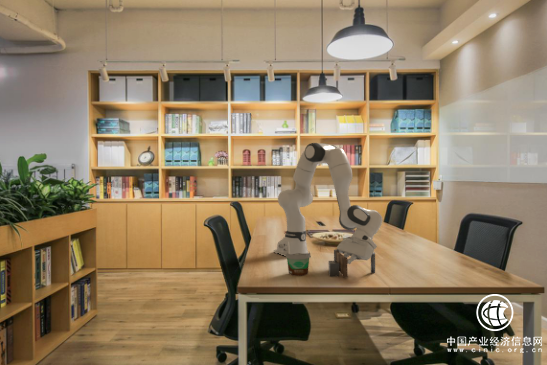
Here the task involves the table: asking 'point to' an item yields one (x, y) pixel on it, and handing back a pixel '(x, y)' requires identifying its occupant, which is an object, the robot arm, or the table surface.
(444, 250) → the table surface
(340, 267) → the brown wooden bar
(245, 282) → the table surface
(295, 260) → the yogurt cup
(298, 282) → the table surface
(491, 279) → the table surface
